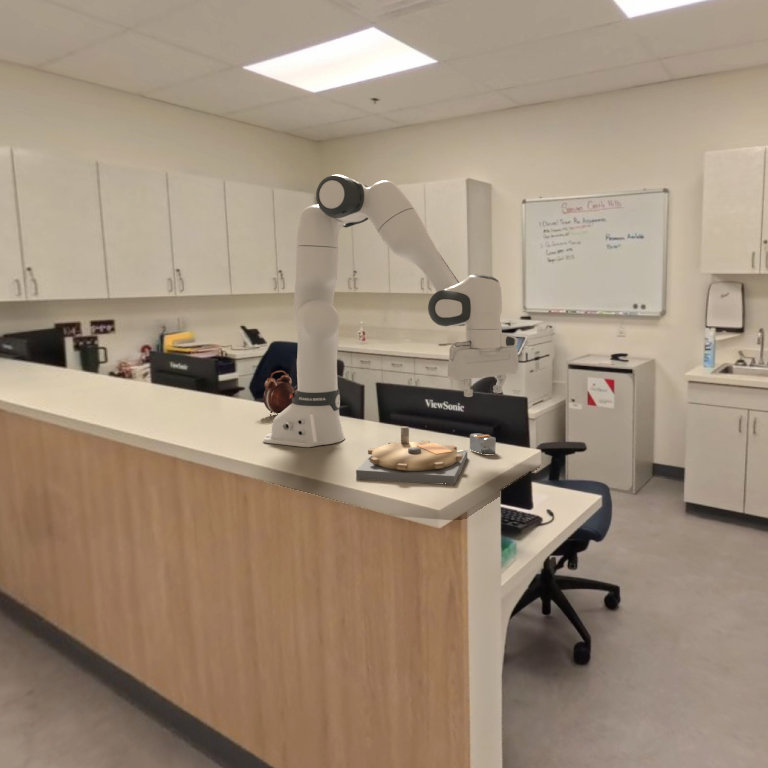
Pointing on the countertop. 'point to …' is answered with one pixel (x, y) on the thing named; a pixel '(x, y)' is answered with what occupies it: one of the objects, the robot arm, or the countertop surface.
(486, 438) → the silver toaster
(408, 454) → the sprocket disc
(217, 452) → the countertop surface
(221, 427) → the countertop surface
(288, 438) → the robot arm
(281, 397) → the alarm clock
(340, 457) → the countertop surface
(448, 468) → the index base
